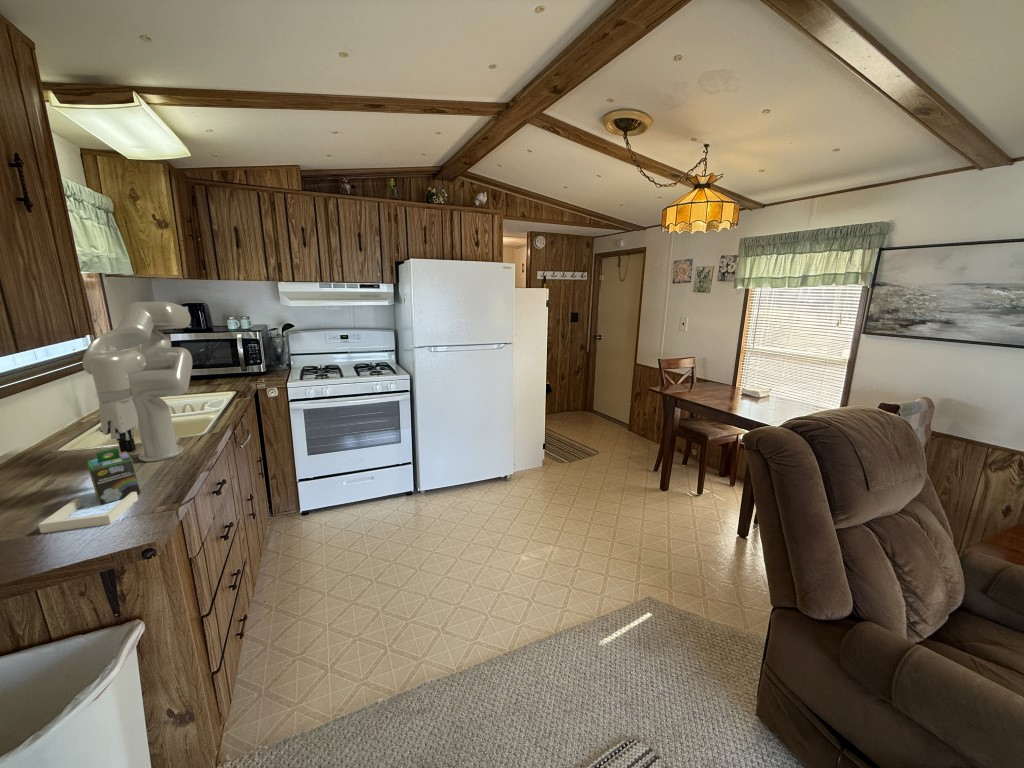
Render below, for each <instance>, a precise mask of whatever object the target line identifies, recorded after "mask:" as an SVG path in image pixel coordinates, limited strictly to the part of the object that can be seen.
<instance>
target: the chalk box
mask: <svg viewBox="0 0 1024 768" xmlns="http://www.w3.org/2000/svg"><path fill="white" fill-rule="evenodd" d="M109 453H111V454H109ZM107 454H109V455H107ZM96 457H97V458H94V459H90V460H87V461H86V466H87V470H88V472H89V475H90V479H91V482H92V485H93V488H94V489H93V490H94V493H95V495H96V498H97V501H98V502H99V505H100V506H103V505H105V504H109V503H112V502H116V501H118V500H119V501H121V500H123V499H124V498H125V497H126V496H127V495H129V494H130V493H131V492H137V495H141V493H142V492H141V488H140V485H139V481H138V477H137V473H136V469H135V465H134V461H133V458H132V457H131V456H130V454H129V452H126V451H125V452H121V451H120V449H119V448H118V447H116V448H114V447H113V448H110V449H105V450H101V451H97V452H96Z"/></svg>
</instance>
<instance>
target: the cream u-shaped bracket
mask: <svg viewBox="0 0 1024 768" xmlns="http://www.w3.org/2000/svg"><path fill="white" fill-rule="evenodd" d="M138 500H139V497H138V494H137V492H131V493H130V494H129V495H127V496H126V497H125V498H123V499H121V500H119V502H118V503H117V504H116V505H114V506H113V507H112V508H111V509H110V510H108V511H107V512H105V513H103V514H102V513H101V514H93V515H86V516H77V517H71V518H70V516H71V515H72V514H74V513H75V512H76V511H78V510H79V509H80V508H81V507H83V504H82V501H81V498H74V499H73V500H71V501H70V502H68V503H66V505H64V506H62V507H61V508H60V509H58V510H57V511H55V512H53V514H51V515H50V516H48V517H47V518H45V519H44V520H43V521H41V522H39V524H38V528H39V531H40V534H46V533H54V532H61V531H67V530H75V528H76V529H82V528H90V527H91V528H92V527H96V526H104V525H110V524H112V523H113V522H114V521H116V520H117V519H118V518H119V517H120V516H121V515H122V514H124V513H125V512H126V511H127V510H128V509H129V508H130V507H131V506H133V505H134V504H135V503H136V502H137V501H138ZM134 502H135V503H134ZM133 503H134V504H133ZM78 508H79V509H78ZM77 509H78V510H77ZM74 511H75V512H74ZM73 512H74V513H73ZM70 514H71V515H70ZM69 515H70V516H69ZM68 517H69V518H68ZM65 518H66V519H65Z"/></svg>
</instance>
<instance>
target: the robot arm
mask: <svg viewBox="0 0 1024 768" xmlns="http://www.w3.org/2000/svg"><path fill="white" fill-rule="evenodd" d="M191 320H192V317H191V314H190V312H189V310H188V309H187V308H186V307H185V306H183V305H180V304H178V303H173V302H170V301H136V302H132V303H130V304H129V305H128V306H127V307H126V309H125V311H124V312H123V315H122V317H121V320H120V321H119V323H118V325H117V327H115V328H113V329H112V330H109V331H107V332H105V333H104V334H102V335H100V336H98V337H97V338H95V339H94V340H93V341H91V342H90V343H89V345H88V346H87V349H85V352H84V355H83V358H82V367H83V370H84V371H85V373H87V374H88V375H91V376H92V378H93V383H94V386H95V387H94V388H95V390H96V395H97V399H98V402H99V404H98V405H99V406H98V409H99V412H98V413H99V419H100V426H101V430H102V434H103V435H105V436H106V435H109V434H110V439H111V440H116V442H117V443H118V445H119V452H120V453H121V452H125V451H126V452H127V453H133V452H134V451H136V450H137V448H136V444H135V443H136V442H135V440H134V438H135V434H134V430H135V429H136V428H137V429H138V432H139V438H140V443H141V447H142V450H143V451H142V453H140V454H139V455H138V459H139V461H141V462H145V463H146V462H157V461H163V460H167V459H171V458H173V457H176V456H178V455H180V454H182V453H183V452H184V447H183V446H181V445H178V444H177V442H178V441H179V440H180V436H177V435H175V434H176V433H175V429H174V424H173V419H172V415H171V409H170V406H169V404H168V403H167V402H166V401H165V400H164V399H162V398H161V397H169V396H170V397H171V396H180V395H184V394H185V393H186V392H187V391H188V390H189V385H190V381H191V375H192V369H193V356H192V354H191V352H190V351H189V350H188V349H187V348H184V347H178V346H175V347H173V346H172V342H171V340H170V338H168V337H167V336H166V335H165V334H163V333H162V332H160V331H159V330H165V329H166V330H170V329H171V330H172V329H174V330H175V329H186V328H188V327H189V326H190V324H191V322H192V321H191ZM137 346H140V347H139V351H137V350H133V349H132V350H131V348H134V347H137ZM127 349H130V350H127Z"/></svg>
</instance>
